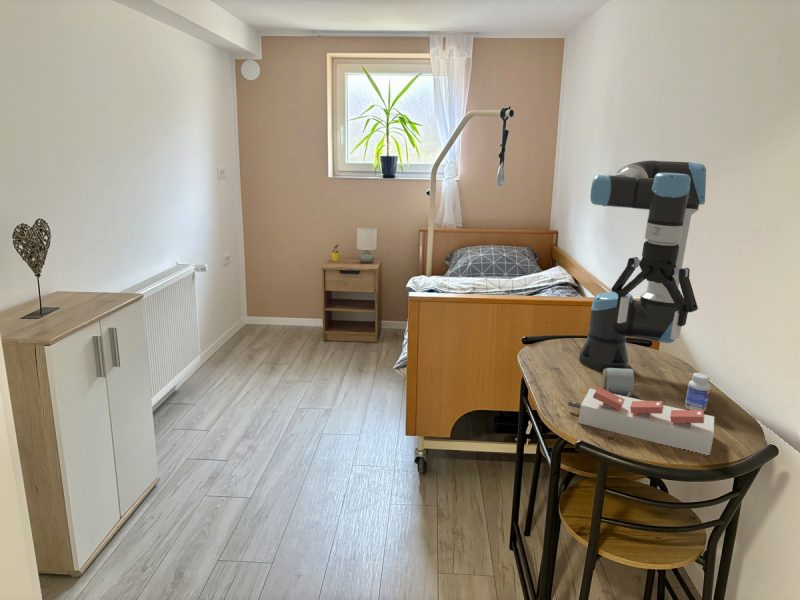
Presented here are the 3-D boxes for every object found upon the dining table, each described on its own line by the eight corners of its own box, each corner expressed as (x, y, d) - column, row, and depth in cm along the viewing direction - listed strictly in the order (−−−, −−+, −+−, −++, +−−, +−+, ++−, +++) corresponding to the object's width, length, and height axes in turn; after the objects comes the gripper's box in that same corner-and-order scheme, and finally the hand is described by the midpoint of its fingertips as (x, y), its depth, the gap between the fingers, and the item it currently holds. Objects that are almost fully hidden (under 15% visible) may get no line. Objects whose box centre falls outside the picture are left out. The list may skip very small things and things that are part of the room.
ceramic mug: (599, 386, 173) (603, 361, 171) (628, 389, 171) (632, 365, 169) (603, 401, 163) (607, 376, 161) (634, 405, 162) (638, 380, 159)
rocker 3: (672, 416, 143) (671, 409, 143) (704, 416, 140) (703, 409, 140) (671, 422, 140) (670, 416, 140) (703, 423, 136) (703, 416, 136)
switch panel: (572, 401, 162) (575, 381, 160) (710, 434, 147) (714, 412, 145) (562, 418, 152) (565, 397, 150) (709, 456, 136) (714, 432, 135)
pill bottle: (707, 414, 158) (714, 380, 155) (685, 410, 160) (691, 377, 157) (704, 406, 163) (711, 373, 160) (683, 402, 165) (689, 370, 162)
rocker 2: (633, 407, 147) (632, 400, 147) (663, 407, 144) (662, 400, 144) (631, 413, 144) (630, 406, 144) (662, 413, 140) (661, 406, 140)
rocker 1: (595, 391, 151) (598, 386, 150) (622, 404, 148) (624, 399, 148) (592, 397, 148) (595, 391, 147) (619, 410, 145) (622, 405, 144)
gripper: (604, 234, 141) (592, 318, 147) (709, 254, 123) (691, 349, 129) (622, 232, 146) (610, 313, 152) (725, 250, 127) (707, 342, 133)
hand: (647, 330), depth 140 cm, fingers open, 13 cm apart
